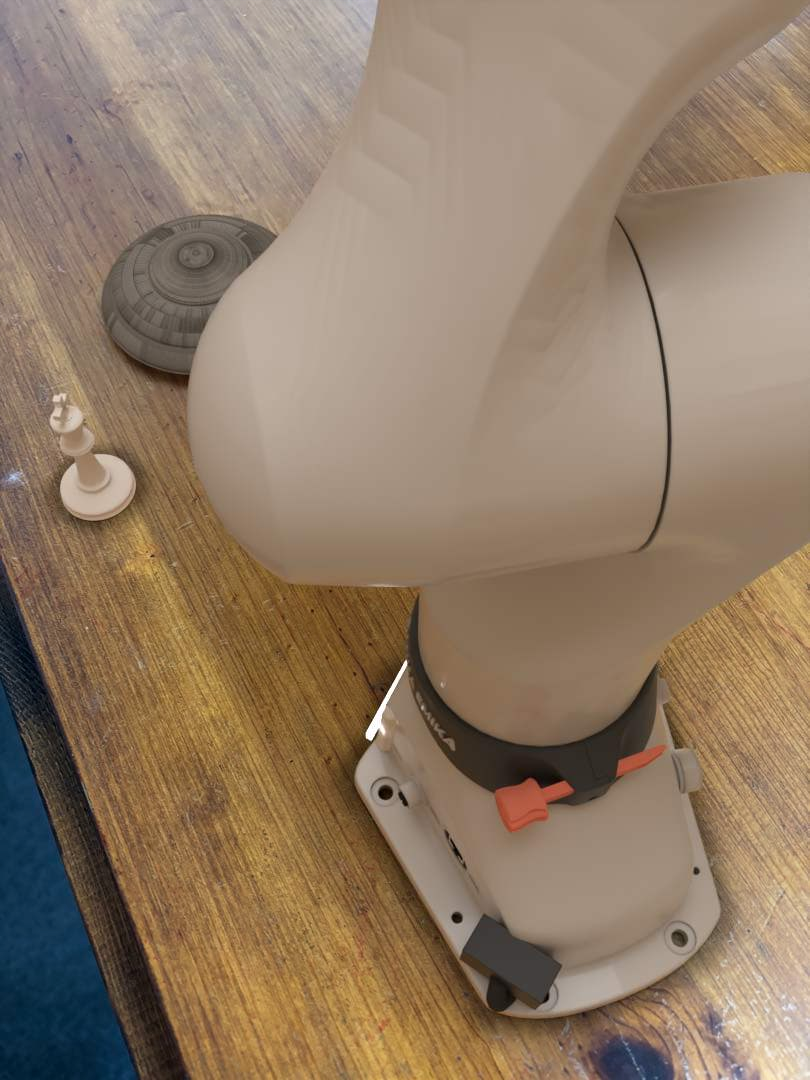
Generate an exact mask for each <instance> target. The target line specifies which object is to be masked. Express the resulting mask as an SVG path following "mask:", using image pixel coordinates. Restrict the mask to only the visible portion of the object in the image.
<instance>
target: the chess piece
mask: <svg viewBox="0 0 810 1080" xmlns="http://www.w3.org/2000/svg"><path fill="white" fill-rule="evenodd" d="M69 400H70V397H69V395H68V393H65V392H63V393H61V392H59V395H57V394H54V395H53V398H52V400H51V402H52V404H53V406H54V409H53V412H52V413H51V415H50V417H49V425H50V428H51V429H52V430H53V431H54V432H55V433H56V434H58V435H59V436H60V438H59V448H60V450H61V452H62V453H63V454H64V455H67V456H70V457H73V459H74V463H72V464H71V465H70V466H69V467H68V468H67V469H66V471H64V474H63V475H62V476H61V477H62V478H61V481H60V484H59V493H60V497H61V502H62V504H63V506H64V508H65V509H66V511H67V512H69V513H70V514H71V515H72V516H74V517H75V518H78V519H81V520H83V521H89V522H90V521H91V522H97V521H104V520H107V519H110V518H112V517H115V516H117V515H119V514H120V513H121V512H123V511H124V510H125V509H126V508H127V507H128V506H129V504H130V503H131V502H132V500H133V499H134V496H135V494H136V489H137V481H136V477H135V475H134V472H133V471H132V469H131V468H130V467H129V465H128V464H127V463H126V462H125V461H124V460H123V459H121V458H119V457H117V456H115V455H111V454H107V453H95V454H94V453H93V451H92V449H93V447H94V444H95V435H94V434H93V432H92V431H91V430H90V429H88V428H87V427H84V423H85V418H84V413H83V411H82V410H81V409H80V408H79V407H77V406H75V405H71V404H68V402H69Z"/></svg>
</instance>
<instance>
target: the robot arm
mask: <svg viewBox="0 0 810 1080" xmlns="http://www.w3.org/2000/svg"><path fill="white" fill-rule="evenodd" d="M809 5H810V0H377V4H376V11H375V18H374V24H373V28H372V29H373V30H372V33H371V40H370V44H369V50H368V52H367V58H366V62H365V65H364V70H363V74H362V77H361V80H360V84H359V86H358V90H357V93H356V96H355V99H354V101H353V104H352V107H351V110H350V113H349V115H348V118H347V120H346V123H345V125H344V128H343V130H342V132H341V134H340V137H339V139H338V141H337V143H336V145H335V147H334V149H333V152H332V154H331V156H330V159H329V160H328V162H327V164H326V166H325V167H324V169H323V171H322V172H321V174H320V176H319V178H318V180H317V181H316V183H315V184H314V186H313V189H312V190H311V192H310V193H309V195H308V196H307V198H306V199H305V201H303V203H302V205H301V206H300V207H299V209H298V210H297V212H296V213H295V215H293V217H292V219H291V221H290V222H289V223H288V224H287V225H286V226H285V228H283V230H282V231H281V232H280V233H279V235H277V236H278V237H277V238H276V239H275V240H274V242H273V243H272V244H271V245H270V246H269V247H268V249H267V250H266V251H265V252H264V253H263V254H262V255H260V256H259V257H258V258H257V259H256V260H255V261H254V262H253V263H252V264H251V265H250V266H249V267H248V268H247V269H246V270H245V271H244V272H243V273H242V274H240V275H239V276H238V277H237V278H236V279H235V280H234V281H233V282H232V284H231V285H230V286H229V288H228V289H227V290H226V292H225V293H224V294H223V296H222V297H221V299H220V300H219V302H218V303H217V305H216V307H215V308H214V310H213V312H212V313H211V315H210V317H209V319H208V321H207V324H206V326H205V328H204V330H203V332H202V335H201V337H200V340H199V343H198V346H197V349H196V352H195V355H194V358H193V362H192V367H191V372H190V375H189V377H188V383H187V384H188V385H187V396H186V397H187V398H186V423H187V437H188V441H189V442H188V443H189V447H190V453H191V455H192V456H191V457H192V461H193V464H194V467H195V471H196V474H197V476H198V479H199V482H200V485H201V487H202V489H203V492H204V493H205V496H206V497H207V500H208V502H209V504H210V506H211V508H212V509H213V511H214V512H215V514H216V516H217V517H218V519H219V520H220V522H221V523H222V525H223V527H224V528H225V530H226V531H227V532H228V533H229V534H230V535H231V537H232V538H233V540H234V541H235V542H236V543H237V544H238V545H239V546H240V547H241V548H242V549H243V550H244V551H245V553H247V554H248V555H249V556H250V557H251V558H252V559H253V560H254V561H255V562H257V563H258V564H259V565H261V566H262V567H263V568H264V569H265V570H267V572H268V573H271V574H272V575H273V576H275V577H277V578H278V579H280V580H281V581H283V582H285V583H286V584H288V585H297V586H298V585H299V586H326V587H328V586H329V587H330V586H331V587H355V588H419V591H418V594H417V596H416V598H415V601H414V605H413V607H412V610H411V612H410V616H409V620H408V623H407V629H406V630H407V631H406V637H405V661H404V663H403V665H402V667H401V669H400V671H399V672H398V674H397V676H396V678H395V680H394V682H393V683H392V685H391V687H390V688H389V690H388V692H387V694H386V696H385V698H384V699H383V701H382V703H381V705H380V707H379V709H378V710H377V712H376V714H375V716H374V718H373V719H372V722H371V723H370V725H369V727H368V729H367V730H366V732H365V738H366V739H368V740H369V741H372V740H373V738H374V737H375V734H376V733H377V735H376V737H375V738H374V740H373V742H372V743H371V744H370V745H369V746H368V748H367V749H366V751H364V753H363V755H362V757H361V758H360V759H359V761H358V763H357V766H356V768H355V771H354V777H353V783H354V787H355V789H356V792H357V794H358V795H359V797H360V799H361V800H362V802H363V804H364V805H365V807H366V809H367V810H368V812H369V814H370V816H371V817H372V820H374V822H375V825H376V826H377V828H378V829H379V831H380V833H381V834H382V836H383V837H384V839H385V841H386V843H387V844H388V846H389V848H390V849H391V851H392V853H393V855H394V856H395V858H396V860H397V861H398V863H399V865H400V866H401V867H402V870H403V871H404V873H405V875H406V877H407V878H408V880H409V881H410V883H411V885H412V887H413V888H414V890H415V892H416V893H417V895H418V897H419V898H420V900H421V902H422V903H423V905H424V907H425V909H426V910H427V912H428V913H429V915H430V917H431V919H432V921H433V922H434V924H435V926H436V927H437V929H438V930H439V933H440V934H441V936H442V938H443V939H444V941H445V942H446V944H447V946H448V948H449V949H450V951H451V953H452V954H453V956H454V958H455V959H456V961H457V962H458V965H459V966H460V968H461V970H462V972H464V974H465V976H466V978H467V980H468V982H469V983H470V985H471V986H472V988H473V989H474V991H475V993H476V994H477V997H478V998H479V999H480V1000H481V1001H482V1003H483V1005H484V1006H485V1007H486V1008H487V1009H488V1010H490V1011H491V1012H493V1013H497V1014H501V1015H504V1016H509V1017H513V1018H519V1019H532V1020H537V1019H538V1020H539V1019H555V1018H562V1017H568V1016H573V1015H577V1014H581V1013H584V1012H589V1011H592V1010H595V1009H598V1008H601V1007H604V1006H607V1005H610V1004H612V1003H615V1002H617V1001H620V1000H623V999H626V998H628V997H629V996H632V995H634V994H636V993H638V992H641V991H642V990H645V989H646V988H649V987H651V986H652V985H654V984H656V983H657V982H659V981H661V980H663V979H665V978H666V977H668V976H669V975H671V974H672V973H674V972H675V971H676V970H677V969H679V968H680V967H682V966H683V965H684V964H685V963H687V961H689V960H690V959H691V958H692V957H693V956H694V955H695V954H697V952H698V951H699V950H700V948H702V946H703V945H704V944H705V942H706V941H707V940H708V938H709V937H710V936H711V934H712V933H713V931H714V929H715V927H716V926H717V924H718V922H719V920H720V918H721V913H722V907H721V903H720V899H719V894H718V891H717V886H716V883H715V880H714V878H713V874H712V870H711V867H710V863H709V860H708V856H707V854H706V850H705V847H704V846H705V845H704V843H703V839H702V836H701V833H700V829H699V826H698V823H697V819H696V816H695V811H694V809H693V805H692V801H691V797H690V795H689V793H694V792H698V791H699V790H700V789H702V788H703V783H704V777H703V771H702V766H701V762H700V760H699V757H698V755H697V753H696V752H695V751H694V749H692V748H689V747H682V748H676V746H675V744H674V740H673V736H672V734H671V729H670V726H669V722H668V719H667V716H666V713H665V709H664V706H663V705H665V704H668V703H669V702H670V701H671V690H670V685H669V683H668V681H667V680H666V679H665V677H660V673H661V672H660V666H661V665H660V658H661V656H662V655H663V653H664V652H665V650H666V649H667V647H668V646H669V644H670V643H671V642H672V641H673V640H674V639H675V638H676V637H677V636H678V635H679V634H681V633H682V632H683V631H684V630H686V629H688V628H689V627H690V626H691V625H693V624H695V623H696V622H697V621H698V620H700V619H701V618H703V617H704V616H706V615H707V614H708V613H710V612H711V611H713V610H714V609H716V608H717V607H718V606H720V605H721V604H722V603H725V602H726V601H727V600H729V599H730V598H731V597H733V596H734V595H736V594H737V593H739V592H740V591H741V590H743V589H744V588H746V587H747V586H748V585H750V584H751V583H753V582H754V581H756V580H757V579H759V578H760V577H761V576H763V575H765V574H766V573H767V572H769V571H770V570H772V569H773V568H774V567H776V566H777V565H779V564H781V563H782V562H783V561H785V560H786V559H788V558H789V557H790V556H792V555H793V554H795V553H796V552H798V551H800V549H802V548H804V547H805V546H806V545H808V544H810V171H786V172H779V173H772V174H766V175H757V176H751V177H744V178H737V179H730V180H722V181H716V182H709V183H702V184H701V183H700V184H693V185H689V186H688V185H687V186H679V187H673V188H666V189H659V190H653V191H645V192H639V193H632V194H625V191H626V190H627V187H628V185H629V183H630V181H631V179H632V178H633V175H634V174H635V172H636V170H637V168H638V167H639V165H640V164H641V162H642V161H643V159H644V158H645V156H646V155H647V153H648V152H649V150H650V149H651V147H652V146H653V144H654V143H655V142H656V140H657V139H658V137H659V136H660V135H661V134H662V132H664V130H665V128H666V127H667V126H668V125H669V123H670V122H671V121H672V120H673V119H674V118H675V116H676V115H677V114H678V113H679V112H680V111H681V110H682V109H683V108H684V107H685V106H686V105H687V104H688V103H689V102H690V101H691V100H692V99H693V98H694V97H695V96H697V94H699V93H700V92H702V90H703V89H704V88H705V87H707V86H708V85H709V84H710V83H712V82H713V81H714V80H715V79H717V78H718V77H720V76H721V75H723V74H724V73H725V72H727V71H729V70H730V69H732V68H733V67H734V66H736V65H737V64H740V62H742V61H743V60H745V59H746V58H748V57H749V56H750V55H752V54H753V53H755V52H757V51H758V50H759V49H760V48H762V47H764V45H766V44H768V43H769V42H770V41H771V40H774V38H775V37H777V36H778V35H779V34H781V32H783V31H784V30H785V29H786V28H788V26H790V25H791V24H792V23H793V22H794V21H795V20H796V19H797V18H798V17H799V16H800V15H801V14H802V13H803V12H804V11H805V10H806V8H807V7H808V6H809ZM624 194H625V195H624ZM385 789H387V790H390V791H391V793H392V796H391V797H390V798H389V799H382V798H381V797H380V795H379V793H380V792H381V791H382V790H385ZM454 916H459V918H461V922H458V923H456V922H454V920H453V917H454ZM673 933H679V934H680V935H681V936H682V937H683V939H684V945H683V946H678V945H676V944H675V943H674V941H673V938H672V937H673ZM546 997H547V1000H546V1002H544V1001H545V999H546Z"/></svg>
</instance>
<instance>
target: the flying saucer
mask: <svg viewBox="0 0 810 1080" xmlns="http://www.w3.org/2000/svg"><path fill="white" fill-rule="evenodd" d="M278 236H279V235H277V234H276V233H275V232H273V231H271V230H270V229H268V228H266V227H264V226H262V225H260V224H258V223H255V222H253V221H250V220H248V219H245V218H241V217H237V216H232V215H226V214H209V213H208V214H207V213H206V214H195V215H187V216H183V217H178V218H175V219H172V220H169V221H166V222H164V223H161V224H160V225H157V226H155V227H153V228H151V229H149V230H148V231H146V232H145V233H143V234H141V235H140V236H139V237H137V238H136V239H135V240H134V241H132V242H131V243H130V244H129V245H127V247H126V248H125V249H124V250H123V251H122V253H121V254H120V255H119V256H118V257H117V259H116V260H115V262H113V264H112V266H111V268H110V270H109V272H108V273H107V276H106V279H105V281H104V285H103V288H102V292H101V300H100V301H101V303H100V304H101V305H100V306H101V314H102V319H103V322H104V325H105V327H106V329H107V331H108V333H109V335H110V337H111V338H112V339H113V341H114V342H115V344H116V345H118V346H119V348H120V349H122V350H123V351H124V352H125V353H126V354H127V355H129V356H130V357H132V358H133V359H135V360H136V361H139V362H140V363H141V364H144V365H146V366H148V367H150V368H153V369H156V370H159V371H163V372H167V373H170V374H171V373H172V374H178V375H188V376H190V372H191V367H192V362H193V358H194V355H195V352H196V349H197V346H198V343H199V340H200V337H201V335H202V332H203V330H204V328H205V326H206V324H207V321H208V319H209V317H210V315H211V313H212V312H213V310H214V308H215V307H216V305H217V303H218V302H219V300H220V299H221V297H222V296H223V294H224V293H225V292H226V290H227V289H228V288H229V286H230V285H231V284H232V282H233V281H234V280H235V279H236V278H237V277H238V276H239V275H240V274H242V273H243V272H244V271H245V270H246V269H247V268H248V267H249V266H250V265H251V264H252V263H253V262H254V261H255V260H256V259H257V258H258V257H259V256H260V255H262V254H263V253H264V252H265V251H266V250H267V249H268V247H269V246H270V245H271V244H272V243H273V242H274V240H275V239H276V238H277V237H278Z"/></svg>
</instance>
